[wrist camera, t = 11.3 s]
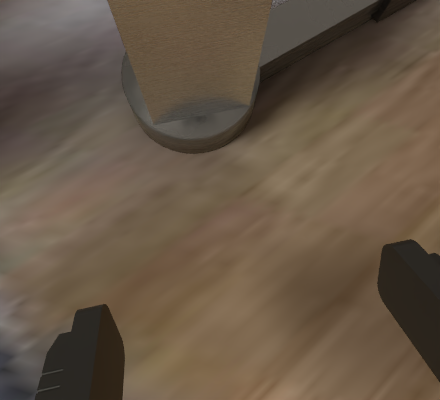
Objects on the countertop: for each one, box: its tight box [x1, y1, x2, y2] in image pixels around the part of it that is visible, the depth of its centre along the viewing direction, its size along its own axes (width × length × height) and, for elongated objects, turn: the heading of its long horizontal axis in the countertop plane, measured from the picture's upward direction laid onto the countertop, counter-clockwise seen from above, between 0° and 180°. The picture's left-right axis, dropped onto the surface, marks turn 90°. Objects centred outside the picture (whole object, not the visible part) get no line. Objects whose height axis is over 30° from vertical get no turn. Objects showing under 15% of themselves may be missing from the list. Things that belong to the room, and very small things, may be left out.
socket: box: [107, 0, 272, 125], centre depth 14 cm, size 5×5×10 cm
